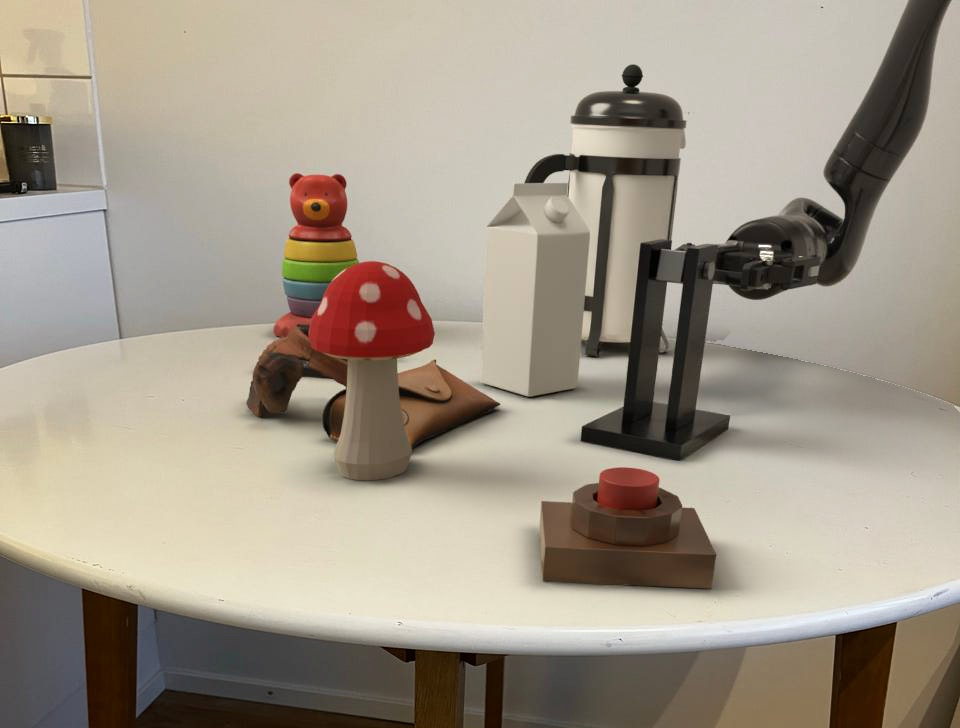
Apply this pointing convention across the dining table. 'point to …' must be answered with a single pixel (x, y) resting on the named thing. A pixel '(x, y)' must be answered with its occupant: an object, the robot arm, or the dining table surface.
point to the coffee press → (619, 194)
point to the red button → (628, 489)
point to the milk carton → (534, 292)
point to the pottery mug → (289, 371)
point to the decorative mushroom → (371, 362)
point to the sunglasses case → (422, 403)
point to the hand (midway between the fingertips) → (713, 274)
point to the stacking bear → (314, 246)
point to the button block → (624, 543)
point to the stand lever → (674, 268)
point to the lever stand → (640, 418)
